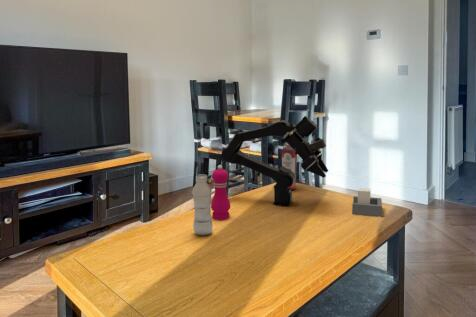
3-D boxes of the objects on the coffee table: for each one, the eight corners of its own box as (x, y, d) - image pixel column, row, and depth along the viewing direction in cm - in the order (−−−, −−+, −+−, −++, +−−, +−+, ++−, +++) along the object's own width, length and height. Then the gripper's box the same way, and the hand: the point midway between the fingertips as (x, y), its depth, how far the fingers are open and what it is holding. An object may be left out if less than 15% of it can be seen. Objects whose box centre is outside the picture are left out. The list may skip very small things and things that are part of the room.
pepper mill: (207, 217, 147) (205, 165, 143) (220, 212, 152) (220, 162, 148) (220, 221, 142) (219, 168, 138) (234, 216, 147) (233, 164, 143)
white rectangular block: (357, 211, 151) (358, 190, 150) (357, 208, 156) (358, 187, 154) (369, 213, 150) (370, 191, 148) (369, 209, 154) (370, 188, 153)
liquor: (298, 188, 186) (299, 129, 180) (294, 192, 179) (295, 131, 174) (283, 186, 189) (284, 128, 183) (279, 190, 182) (279, 130, 177)
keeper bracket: (352, 214, 149) (352, 203, 148) (353, 205, 159) (353, 196, 158) (381, 216, 146) (382, 206, 145) (380, 207, 156) (381, 198, 155)
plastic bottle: (197, 239, 127) (195, 178, 123) (190, 231, 133) (188, 174, 129) (215, 235, 129) (214, 176, 125) (208, 228, 135) (207, 172, 131)
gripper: (310, 134, 144) (340, 165, 143) (316, 128, 162) (343, 156, 161) (289, 154, 148) (317, 185, 147) (297, 147, 166) (323, 174, 164)
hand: (326, 174), depth 155 cm, fingers open, 9 cm apart
